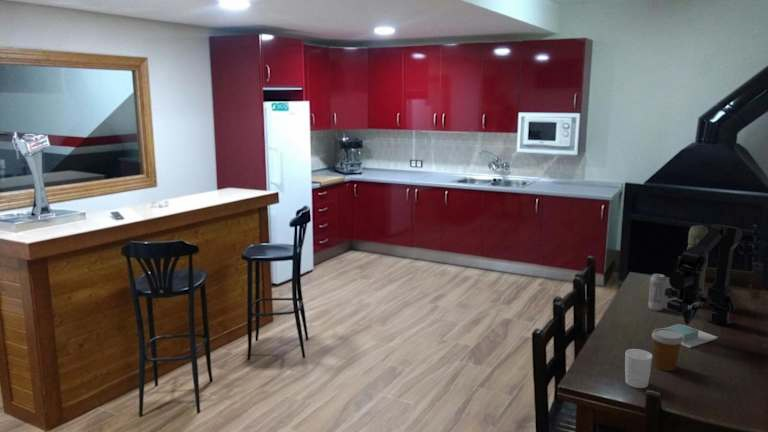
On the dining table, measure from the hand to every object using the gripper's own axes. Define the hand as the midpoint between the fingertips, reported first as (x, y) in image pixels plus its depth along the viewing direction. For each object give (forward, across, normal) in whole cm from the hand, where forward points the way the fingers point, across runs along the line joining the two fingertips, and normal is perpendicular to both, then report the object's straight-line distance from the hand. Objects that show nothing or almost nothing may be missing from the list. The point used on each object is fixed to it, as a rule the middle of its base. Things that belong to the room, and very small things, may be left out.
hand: (687, 324), depth 217 cm
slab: (+3, -1, 0) cm, 3 cm away
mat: (+5, 0, 0) cm, 5 cm away
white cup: (+6, +47, +15) cm, 50 cm away
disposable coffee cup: (+5, +29, +12) cm, 32 cm away
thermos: (+5, -36, -21) cm, 42 cm away
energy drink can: (+5, -17, -25) cm, 30 cm away
